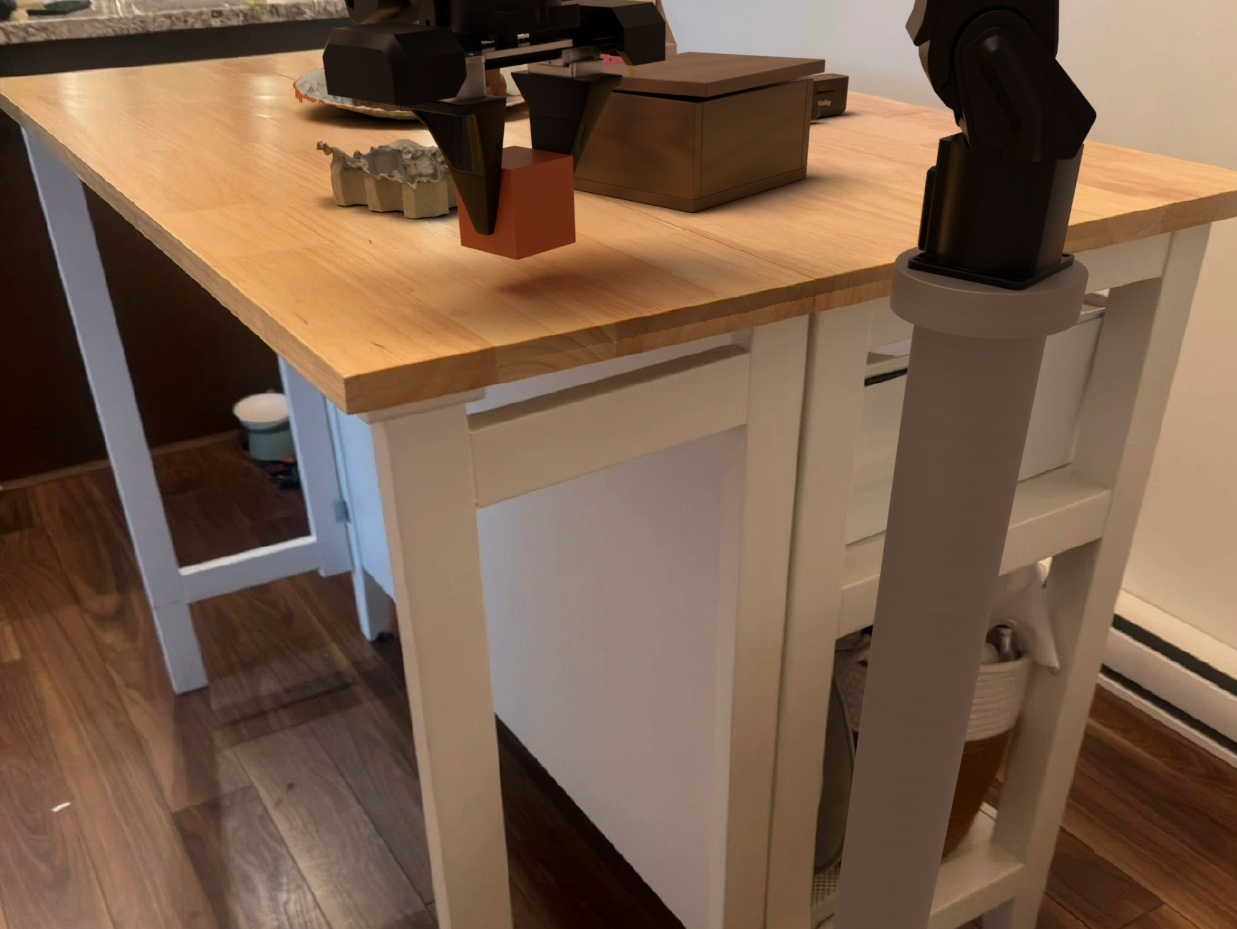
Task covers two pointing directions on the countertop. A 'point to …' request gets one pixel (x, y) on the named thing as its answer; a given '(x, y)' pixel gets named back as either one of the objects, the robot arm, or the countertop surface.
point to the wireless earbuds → (829, 94)
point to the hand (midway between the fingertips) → (517, 224)
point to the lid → (712, 73)
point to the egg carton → (393, 178)
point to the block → (527, 206)
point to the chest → (698, 145)
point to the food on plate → (316, 89)
